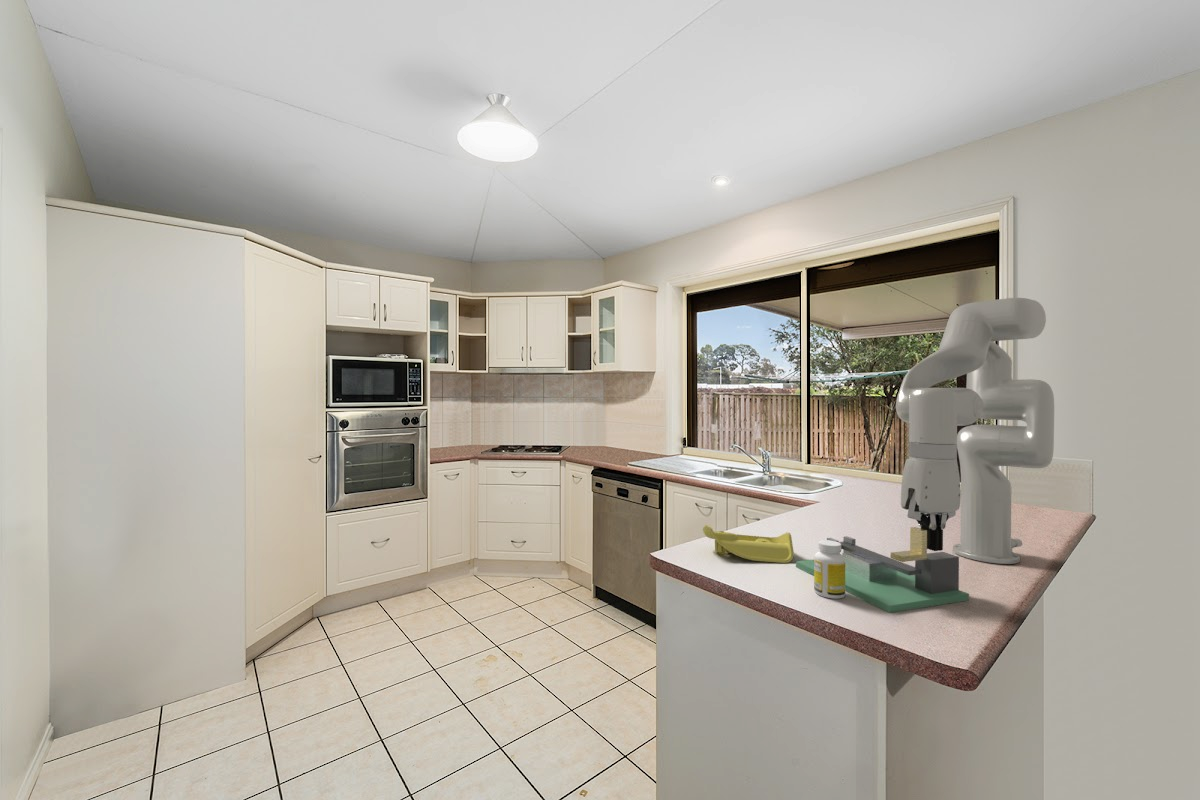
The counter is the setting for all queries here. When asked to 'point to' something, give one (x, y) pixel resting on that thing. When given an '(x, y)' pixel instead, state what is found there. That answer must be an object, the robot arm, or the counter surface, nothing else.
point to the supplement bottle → (829, 570)
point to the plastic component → (753, 546)
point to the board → (890, 589)
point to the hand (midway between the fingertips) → (931, 548)
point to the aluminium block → (867, 568)
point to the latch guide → (938, 573)
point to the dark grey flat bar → (880, 559)
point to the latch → (914, 547)
